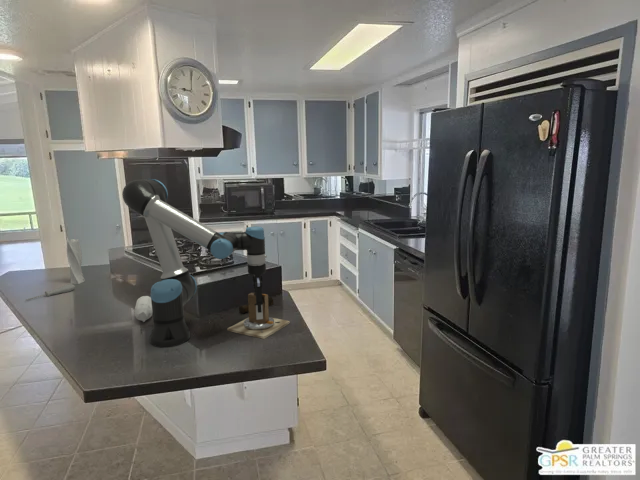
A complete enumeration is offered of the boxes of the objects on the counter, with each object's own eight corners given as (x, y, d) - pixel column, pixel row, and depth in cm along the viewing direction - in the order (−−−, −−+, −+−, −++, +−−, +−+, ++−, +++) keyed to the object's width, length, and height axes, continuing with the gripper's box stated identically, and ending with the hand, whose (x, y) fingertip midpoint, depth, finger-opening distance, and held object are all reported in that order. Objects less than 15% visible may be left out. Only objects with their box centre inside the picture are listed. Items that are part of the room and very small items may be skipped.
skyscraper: (67, 284, 256) (61, 237, 251) (76, 280, 263) (70, 235, 258) (78, 284, 254) (73, 238, 249) (87, 281, 262) (82, 235, 257)
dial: (237, 327, 180) (236, 296, 178) (253, 317, 192) (252, 288, 190) (265, 331, 175) (264, 300, 173) (279, 320, 187) (278, 291, 185)
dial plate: (227, 330, 180) (227, 328, 180) (255, 316, 197) (254, 313, 196) (264, 338, 171) (263, 336, 171) (289, 323, 188) (289, 320, 187)
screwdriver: (24, 304, 225) (22, 296, 225) (73, 290, 245) (71, 283, 244) (27, 304, 222) (25, 296, 222) (77, 289, 242) (75, 282, 241)
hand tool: (243, 315, 199) (242, 305, 199) (238, 312, 202) (238, 303, 202) (276, 306, 212) (276, 297, 211) (271, 304, 214) (271, 295, 214)
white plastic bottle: (133, 326, 187) (131, 309, 185) (137, 312, 205) (135, 296, 203) (152, 324, 189) (151, 307, 188) (154, 310, 207) (153, 294, 205)
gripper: (267, 268, 171) (270, 323, 175) (263, 258, 189) (265, 308, 193) (248, 269, 169) (251, 325, 173) (246, 259, 187) (249, 310, 191)
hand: (259, 316), depth 183 cm, fingers closed on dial, 5 cm apart
